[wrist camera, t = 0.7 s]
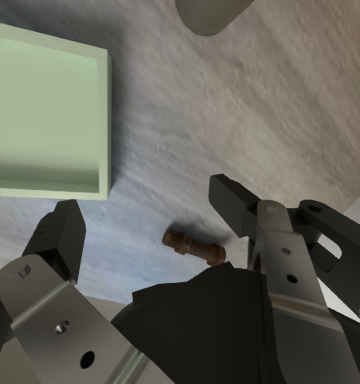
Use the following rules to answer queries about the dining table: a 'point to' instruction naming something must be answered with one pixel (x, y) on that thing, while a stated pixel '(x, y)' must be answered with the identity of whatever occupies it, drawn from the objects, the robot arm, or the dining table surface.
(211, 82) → the dining table surface
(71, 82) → the tray
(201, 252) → the bolt
